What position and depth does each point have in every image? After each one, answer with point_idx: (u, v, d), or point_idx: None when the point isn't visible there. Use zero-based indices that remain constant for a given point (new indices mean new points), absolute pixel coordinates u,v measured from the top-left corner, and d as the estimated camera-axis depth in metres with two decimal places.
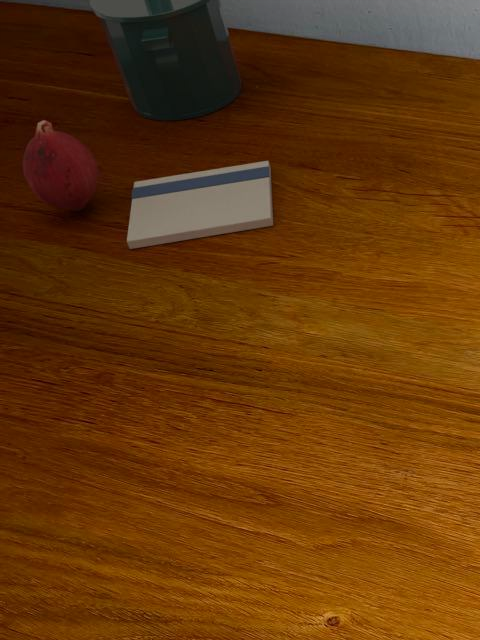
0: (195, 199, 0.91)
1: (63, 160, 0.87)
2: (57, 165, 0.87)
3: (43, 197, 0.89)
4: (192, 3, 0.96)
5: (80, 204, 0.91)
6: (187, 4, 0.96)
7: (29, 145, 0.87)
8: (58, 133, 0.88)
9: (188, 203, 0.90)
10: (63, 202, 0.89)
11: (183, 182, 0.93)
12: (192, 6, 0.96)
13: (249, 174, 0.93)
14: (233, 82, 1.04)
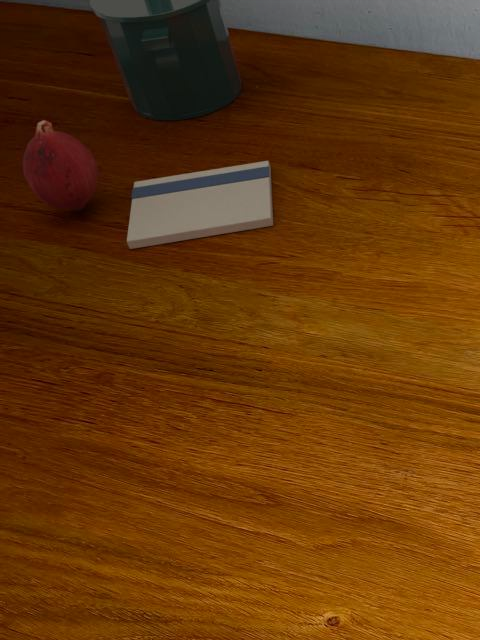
0: (195, 199, 0.91)
1: (63, 160, 0.87)
2: (57, 165, 0.87)
3: (43, 197, 0.89)
4: (192, 3, 0.96)
5: (80, 204, 0.91)
6: (187, 4, 0.96)
7: (29, 145, 0.87)
8: (58, 133, 0.88)
9: (188, 203, 0.90)
10: (63, 202, 0.89)
11: (183, 182, 0.93)
12: (192, 6, 0.96)
13: (249, 174, 0.93)
14: (233, 82, 1.04)
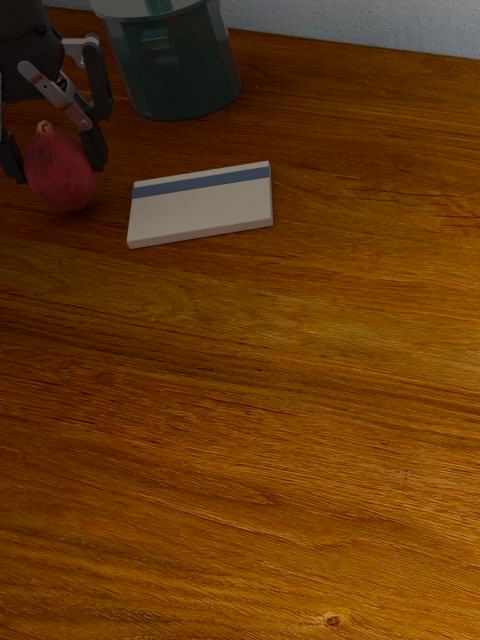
0: (195, 199, 0.91)
1: (63, 160, 0.87)
2: (57, 165, 0.87)
3: (43, 197, 0.89)
4: (192, 3, 0.96)
5: (80, 204, 0.91)
6: (187, 4, 0.96)
7: (29, 145, 0.87)
8: (58, 133, 0.88)
9: (188, 203, 0.90)
10: (63, 202, 0.89)
11: (183, 182, 0.93)
12: (192, 6, 0.96)
13: (249, 174, 0.93)
14: (233, 82, 1.04)
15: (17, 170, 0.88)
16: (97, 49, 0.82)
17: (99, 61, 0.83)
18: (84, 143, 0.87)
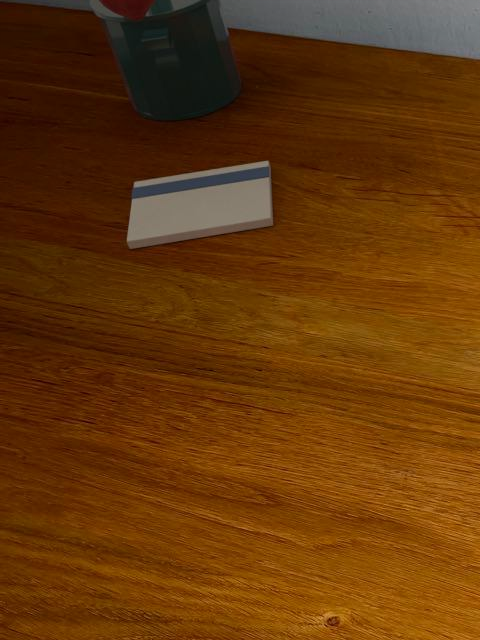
0: (195, 199, 0.91)
1: None
2: None
3: None
4: (192, 3, 0.96)
5: (141, 10, 0.88)
6: (187, 4, 0.96)
7: None
8: None
9: (188, 203, 0.90)
10: (125, 5, 0.86)
11: (183, 182, 0.93)
12: (192, 6, 0.96)
13: (249, 174, 0.93)
14: (233, 82, 1.04)
15: None
16: None
17: None
18: None
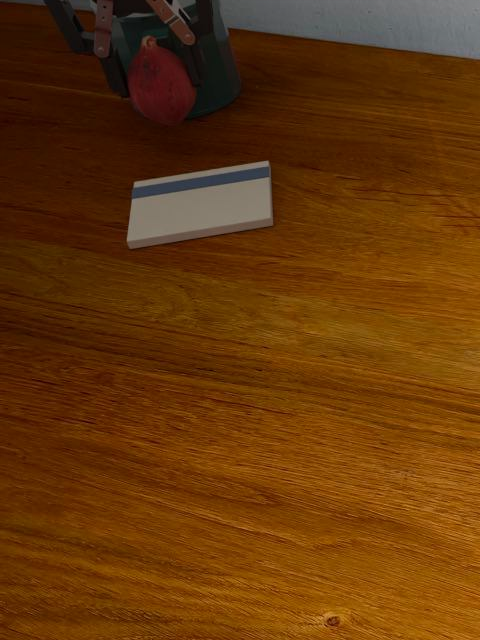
0: (195, 199, 0.91)
1: (167, 73, 0.91)
2: (161, 79, 0.91)
3: (146, 110, 0.93)
4: (192, 3, 0.96)
5: (179, 119, 0.95)
6: (187, 4, 0.96)
7: (134, 59, 0.91)
8: (161, 48, 0.92)
9: (188, 203, 0.90)
10: (164, 115, 0.93)
11: (183, 182, 0.93)
12: (192, 6, 0.96)
13: (249, 174, 0.93)
14: (233, 82, 1.04)
15: (122, 84, 0.92)
16: None
17: None
18: (186, 58, 0.92)
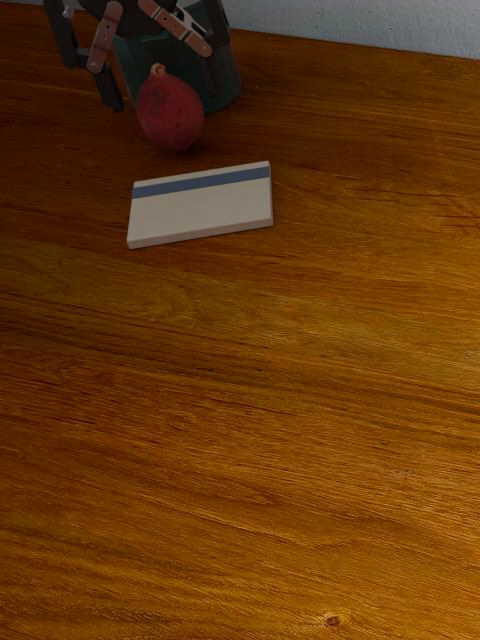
0: (195, 199, 0.91)
1: (175, 100, 0.93)
2: (169, 105, 0.93)
3: (154, 136, 0.95)
4: (192, 3, 0.96)
5: (187, 144, 0.97)
6: (187, 4, 0.96)
7: (143, 87, 0.93)
8: (170, 76, 0.94)
9: (188, 203, 0.90)
10: (172, 141, 0.95)
11: (183, 182, 0.93)
12: (192, 6, 0.96)
13: (249, 174, 0.93)
14: (233, 82, 1.04)
15: (115, 99, 0.93)
16: None
17: None
18: (203, 69, 0.93)
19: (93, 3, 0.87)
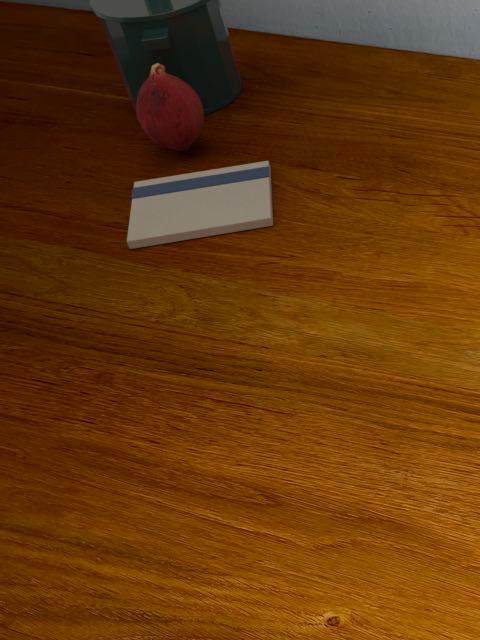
0: (195, 199, 0.91)
1: (175, 100, 0.93)
2: (169, 105, 0.93)
3: (154, 136, 0.95)
4: (192, 3, 0.96)
5: (187, 144, 0.97)
6: (187, 4, 0.96)
7: (143, 87, 0.93)
8: (170, 76, 0.94)
9: (188, 203, 0.90)
10: (172, 141, 0.95)
11: (183, 182, 0.93)
12: (192, 6, 0.96)
13: (249, 174, 0.93)
14: (233, 82, 1.04)
15: None
16: None
17: None
18: None
19: None
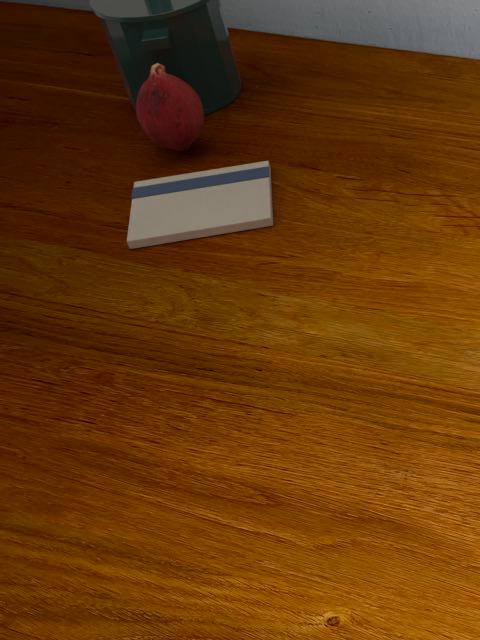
0: (195, 199, 0.91)
1: (175, 100, 0.93)
2: (169, 105, 0.93)
3: (154, 136, 0.95)
4: (192, 3, 0.96)
5: (187, 144, 0.97)
6: (187, 4, 0.96)
7: (143, 87, 0.93)
8: (170, 76, 0.94)
9: (188, 203, 0.90)
10: (172, 141, 0.95)
11: (183, 182, 0.93)
12: (192, 6, 0.96)
13: (249, 174, 0.93)
14: (233, 82, 1.04)
15: None
16: None
17: None
18: None
19: None
